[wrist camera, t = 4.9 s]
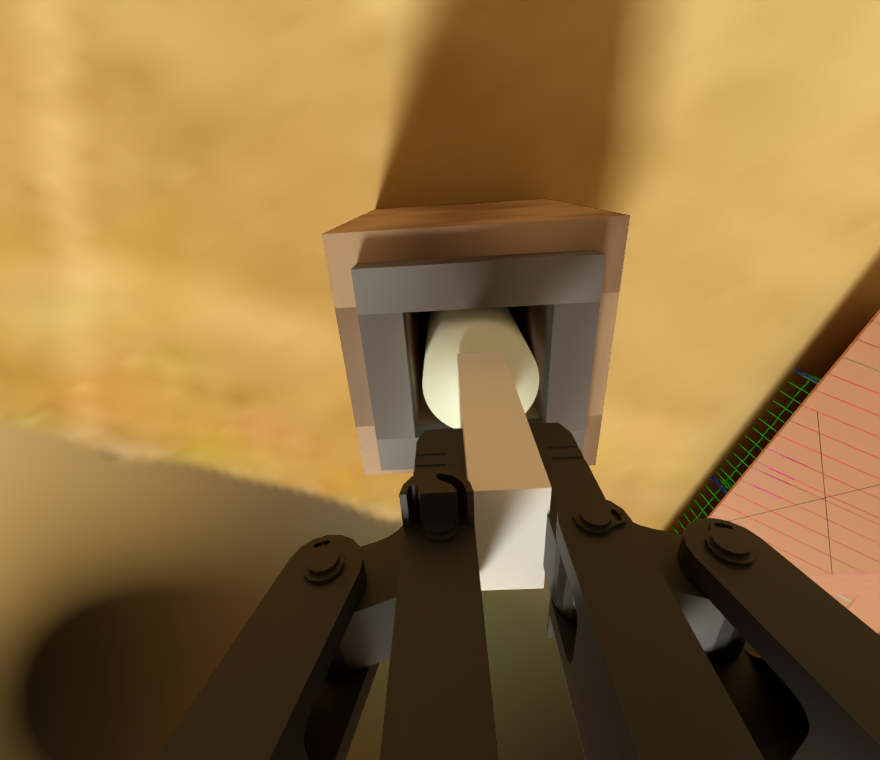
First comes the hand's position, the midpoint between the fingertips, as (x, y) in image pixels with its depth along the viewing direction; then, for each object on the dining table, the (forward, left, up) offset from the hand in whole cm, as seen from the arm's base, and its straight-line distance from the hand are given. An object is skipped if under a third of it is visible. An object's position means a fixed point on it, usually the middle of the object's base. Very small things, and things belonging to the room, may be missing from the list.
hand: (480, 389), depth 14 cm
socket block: (0, 0, -14) cm, 14 cm away
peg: (0, 0, -12) cm, 12 cm away
